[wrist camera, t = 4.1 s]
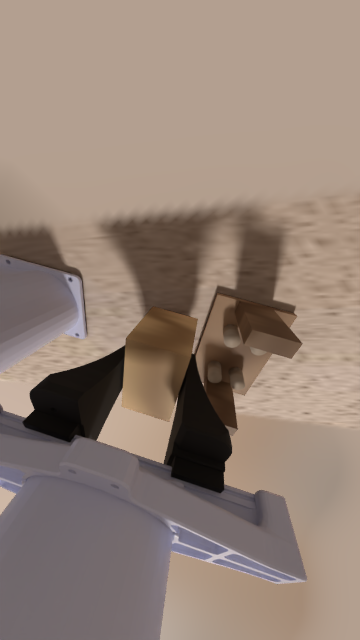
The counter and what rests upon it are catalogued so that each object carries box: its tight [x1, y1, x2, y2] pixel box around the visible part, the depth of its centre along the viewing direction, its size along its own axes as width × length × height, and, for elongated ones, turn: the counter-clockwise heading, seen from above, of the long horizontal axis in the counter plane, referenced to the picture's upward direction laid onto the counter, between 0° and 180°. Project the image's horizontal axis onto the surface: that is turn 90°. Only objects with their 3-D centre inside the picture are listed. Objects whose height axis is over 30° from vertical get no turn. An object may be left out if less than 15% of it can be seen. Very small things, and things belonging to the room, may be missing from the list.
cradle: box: [195, 293, 302, 436], centre depth 14 cm, size 7×11×6 cm, turn 168°
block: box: [122, 306, 198, 422], centre depth 13 cm, size 4×7×5 cm, turn 168°
